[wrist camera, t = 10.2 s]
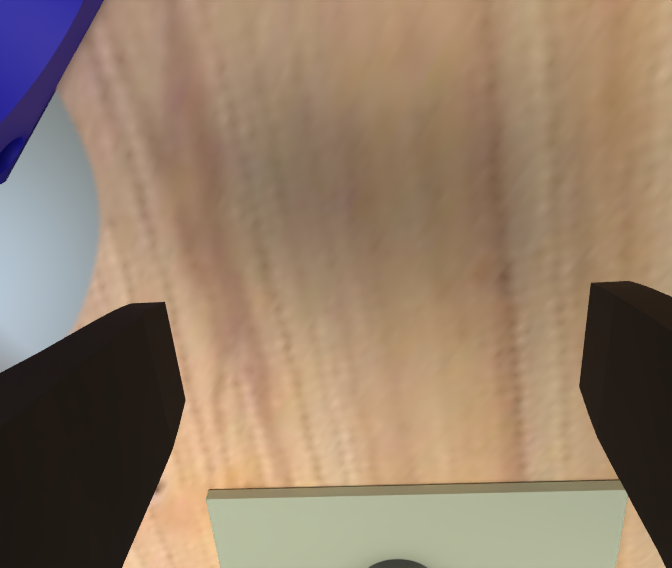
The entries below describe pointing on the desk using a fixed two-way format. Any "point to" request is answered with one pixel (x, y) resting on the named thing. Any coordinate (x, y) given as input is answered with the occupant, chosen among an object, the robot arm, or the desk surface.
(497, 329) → the desk surface
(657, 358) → the robot arm
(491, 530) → the desk mat
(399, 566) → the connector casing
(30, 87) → the cable clip
